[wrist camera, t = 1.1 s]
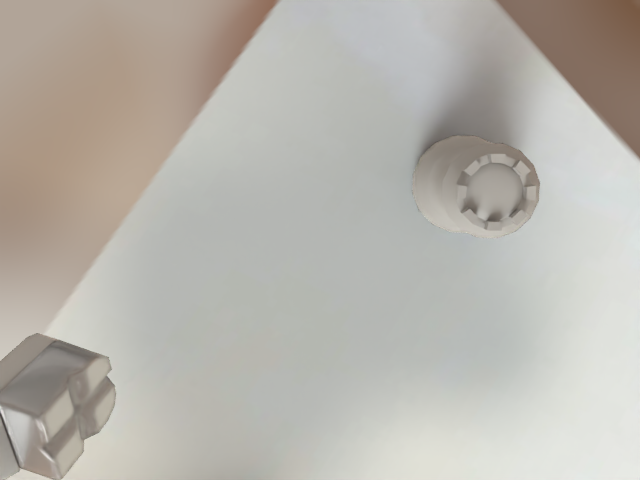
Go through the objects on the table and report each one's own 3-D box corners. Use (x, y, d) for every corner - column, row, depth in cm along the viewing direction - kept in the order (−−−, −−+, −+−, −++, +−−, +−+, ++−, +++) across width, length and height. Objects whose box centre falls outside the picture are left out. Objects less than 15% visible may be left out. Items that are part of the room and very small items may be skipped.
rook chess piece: (476, 115, 25) (521, 94, 18) (527, 198, 26) (594, 213, 18) (392, 169, 26) (400, 172, 18) (443, 249, 26) (472, 285, 18)
